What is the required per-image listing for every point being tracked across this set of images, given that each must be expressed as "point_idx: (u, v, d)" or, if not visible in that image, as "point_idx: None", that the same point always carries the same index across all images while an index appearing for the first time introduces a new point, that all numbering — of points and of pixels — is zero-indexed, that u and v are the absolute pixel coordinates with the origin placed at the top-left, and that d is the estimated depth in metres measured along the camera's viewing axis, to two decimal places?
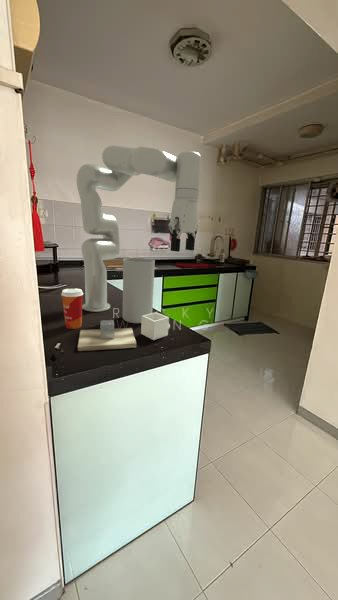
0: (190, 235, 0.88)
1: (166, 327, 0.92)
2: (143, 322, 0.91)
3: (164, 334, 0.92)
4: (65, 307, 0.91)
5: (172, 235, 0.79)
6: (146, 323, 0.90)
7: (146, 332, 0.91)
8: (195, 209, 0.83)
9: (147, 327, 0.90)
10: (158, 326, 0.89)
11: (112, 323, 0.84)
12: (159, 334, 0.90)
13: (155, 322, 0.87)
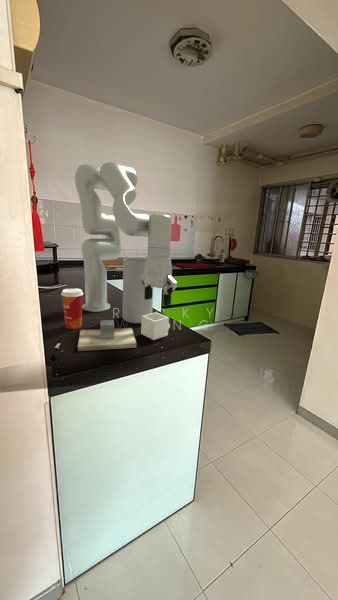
0: None
1: (166, 327, 0.92)
2: (143, 322, 0.91)
3: (164, 334, 0.92)
4: (65, 307, 0.91)
5: (170, 292, 0.84)
6: (146, 323, 0.90)
7: (146, 332, 0.91)
8: None
9: (147, 327, 0.90)
10: (158, 326, 0.89)
11: (112, 323, 0.84)
12: (159, 334, 0.90)
13: (155, 322, 0.87)
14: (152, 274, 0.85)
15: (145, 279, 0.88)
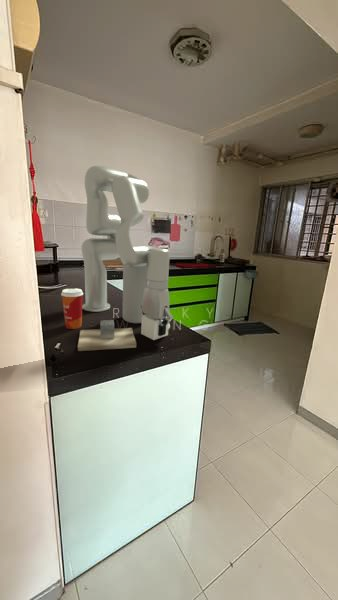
0: None
1: (166, 327, 0.92)
2: (143, 322, 0.91)
3: None
4: (65, 307, 0.91)
5: (165, 323, 0.88)
6: (146, 323, 0.90)
7: (147, 332, 0.91)
8: None
9: (147, 327, 0.90)
10: (158, 326, 0.89)
11: (112, 323, 0.84)
12: None
13: (155, 322, 0.87)
14: (150, 305, 0.88)
15: (143, 308, 0.91)
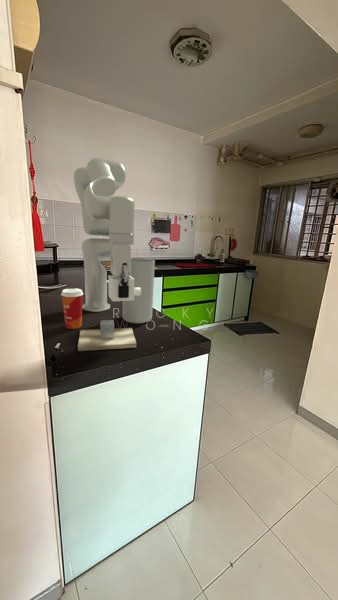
0: None
1: (131, 290, 0.81)
2: (109, 282, 0.83)
3: (129, 297, 0.81)
4: (65, 307, 0.91)
5: (124, 283, 0.77)
6: (109, 283, 0.82)
7: (110, 293, 0.82)
8: None
9: (110, 287, 0.82)
10: None
11: (112, 323, 0.84)
12: None
13: (113, 281, 0.78)
14: (112, 261, 0.79)
15: (110, 267, 0.83)
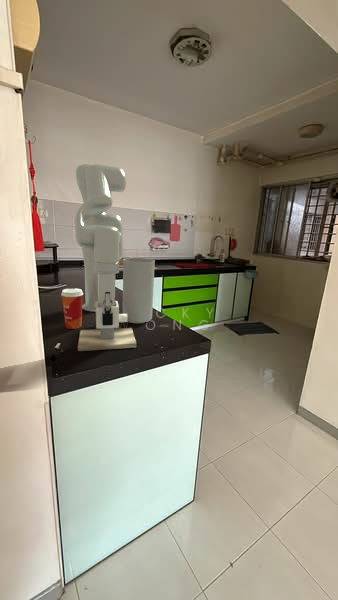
0: None
1: (115, 317, 0.81)
2: None
3: (113, 325, 0.81)
4: (65, 307, 0.91)
5: (107, 312, 0.77)
6: None
7: None
8: None
9: None
10: None
11: None
12: None
13: (97, 308, 0.79)
14: None
15: None
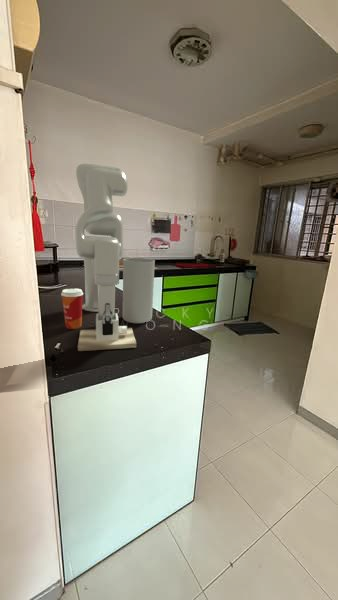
0: None
1: (115, 330, 0.82)
2: None
3: (113, 337, 0.83)
4: (65, 307, 0.91)
5: (107, 322, 0.77)
6: None
7: None
8: None
9: None
10: None
11: None
12: (104, 336, 0.82)
13: (97, 322, 0.80)
14: None
15: None
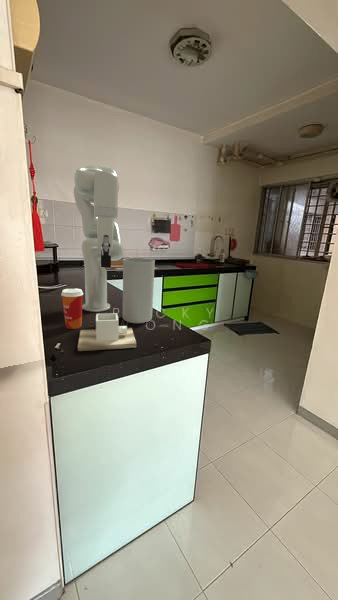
0: None
1: (115, 330, 0.82)
2: None
3: (113, 337, 0.83)
4: (65, 307, 0.91)
5: (105, 253, 0.82)
6: None
7: None
8: None
9: None
10: (102, 327, 0.81)
11: None
12: (104, 336, 0.82)
13: (97, 322, 0.80)
14: None
15: None
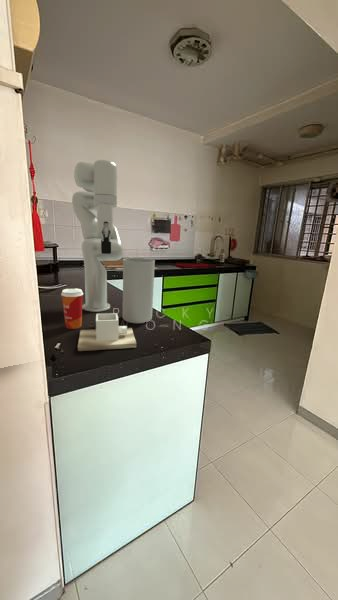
0: None
1: (115, 330, 0.82)
2: None
3: (113, 337, 0.83)
4: (65, 307, 0.91)
5: (105, 239, 0.84)
6: None
7: None
8: None
9: None
10: (102, 327, 0.81)
11: None
12: (104, 336, 0.82)
13: (97, 322, 0.80)
14: None
15: None
